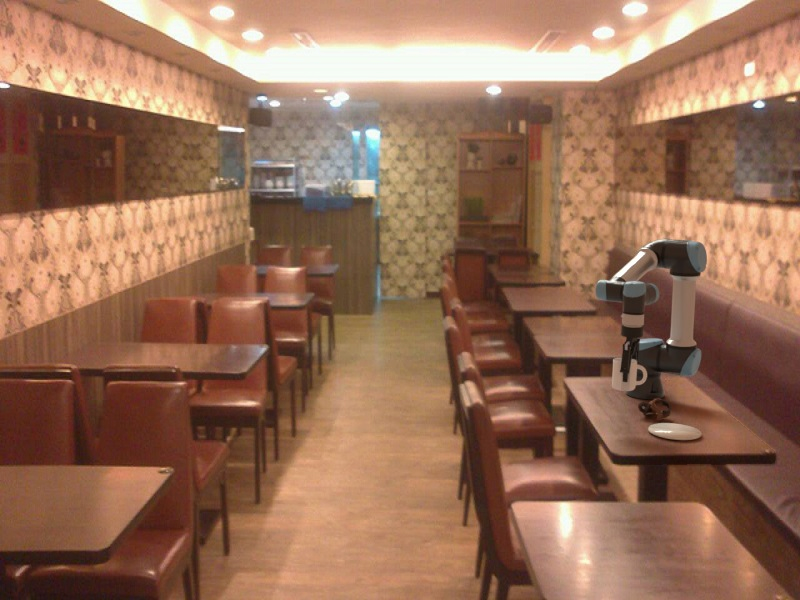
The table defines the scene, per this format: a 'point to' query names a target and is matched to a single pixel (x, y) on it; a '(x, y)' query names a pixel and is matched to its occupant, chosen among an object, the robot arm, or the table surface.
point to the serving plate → (674, 431)
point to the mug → (633, 369)
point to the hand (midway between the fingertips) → (628, 387)
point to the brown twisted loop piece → (655, 408)
